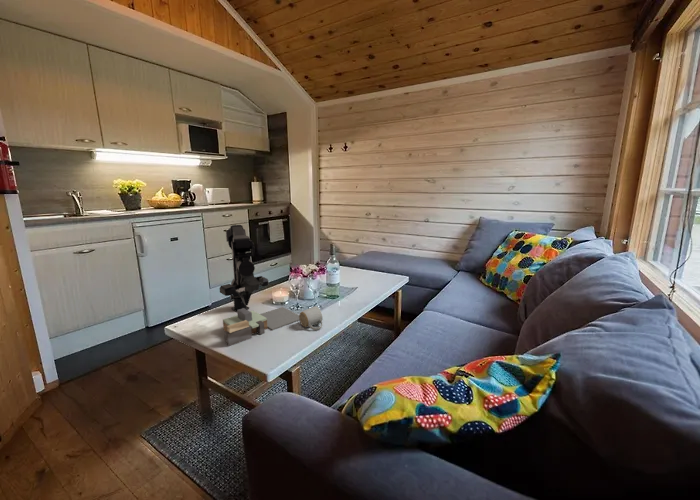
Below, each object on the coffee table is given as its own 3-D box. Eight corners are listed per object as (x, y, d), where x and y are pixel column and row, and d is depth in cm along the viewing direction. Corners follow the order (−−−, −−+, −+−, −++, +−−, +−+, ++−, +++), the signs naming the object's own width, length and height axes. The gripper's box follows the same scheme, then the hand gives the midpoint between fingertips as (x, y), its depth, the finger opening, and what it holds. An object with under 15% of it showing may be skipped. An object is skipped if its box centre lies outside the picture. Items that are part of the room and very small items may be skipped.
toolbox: (213, 333, 133) (212, 322, 132) (253, 320, 146) (253, 310, 145) (229, 346, 123) (228, 334, 122) (271, 330, 136) (270, 320, 135)
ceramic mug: (298, 324, 142) (297, 308, 140) (313, 319, 147) (313, 303, 145) (311, 333, 134) (311, 316, 132) (327, 327, 139) (327, 311, 137)
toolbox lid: (222, 321, 135) (222, 311, 135) (253, 312, 145) (252, 303, 144) (239, 332, 125) (238, 322, 124) (270, 322, 135) (270, 312, 134)
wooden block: (227, 331, 124) (226, 326, 124) (246, 324, 130) (245, 320, 129) (229, 333, 123) (229, 328, 122) (249, 326, 128) (248, 321, 128)
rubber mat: (251, 318, 148) (251, 316, 148) (282, 308, 160) (282, 307, 160) (272, 330, 136) (272, 329, 136) (304, 318, 148) (304, 317, 148)
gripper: (230, 278, 116) (233, 318, 119) (275, 268, 128) (276, 304, 132) (217, 271, 123) (220, 309, 127) (260, 263, 136) (262, 297, 140)
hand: (246, 305), depth 131 cm, fingers closed
